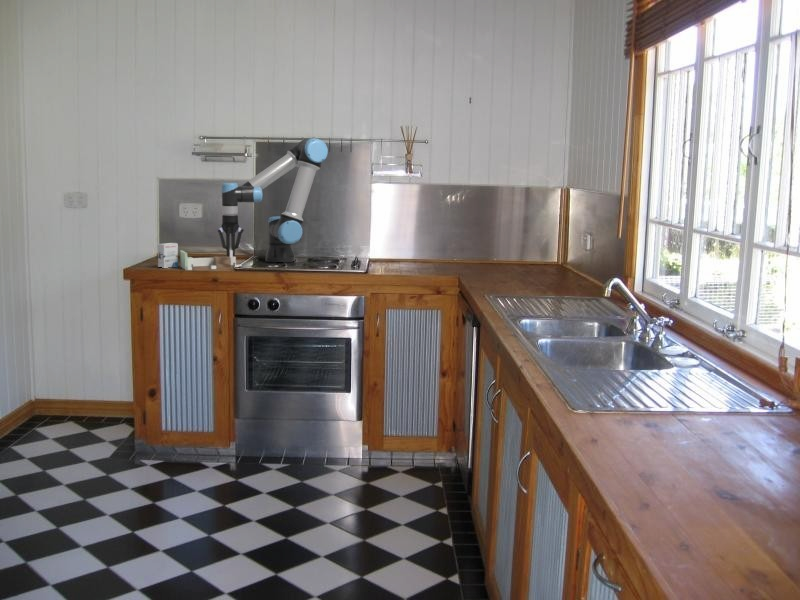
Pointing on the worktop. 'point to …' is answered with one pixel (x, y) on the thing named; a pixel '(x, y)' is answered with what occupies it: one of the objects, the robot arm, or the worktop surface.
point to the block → (222, 261)
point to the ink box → (168, 255)
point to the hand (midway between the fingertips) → (230, 262)
